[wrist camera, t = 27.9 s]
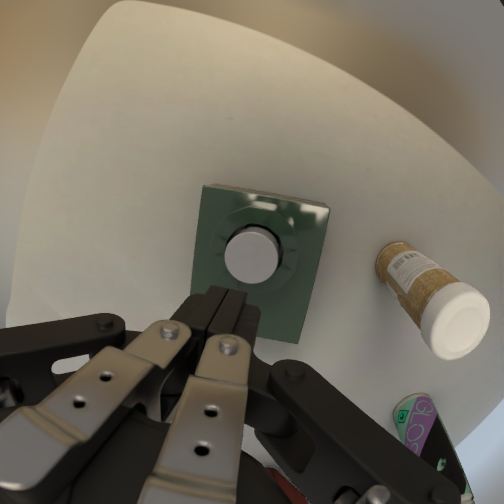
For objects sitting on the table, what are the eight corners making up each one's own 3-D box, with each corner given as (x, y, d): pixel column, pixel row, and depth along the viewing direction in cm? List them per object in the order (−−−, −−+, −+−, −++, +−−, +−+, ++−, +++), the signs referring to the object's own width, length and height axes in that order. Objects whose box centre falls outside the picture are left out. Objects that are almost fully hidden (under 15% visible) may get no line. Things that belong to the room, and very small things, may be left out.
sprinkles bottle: (377, 290, 27) (428, 372, 14) (372, 245, 26) (432, 304, 13) (418, 280, 26) (487, 350, 13) (415, 236, 25) (496, 284, 12)
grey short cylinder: (234, 222, 22) (228, 227, 20) (283, 231, 21) (282, 237, 19) (227, 269, 23) (220, 278, 21) (274, 278, 22) (272, 288, 20)
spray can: (415, 387, 29) (468, 520, 10) (438, 400, 30) (489, 518, 10) (384, 415, 31) (415, 548, 12) (409, 426, 31) (443, 545, 12)
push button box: (215, 183, 27) (194, 186, 21) (325, 203, 26) (334, 211, 20) (200, 303, 30) (180, 331, 24) (297, 323, 29) (297, 357, 23)
